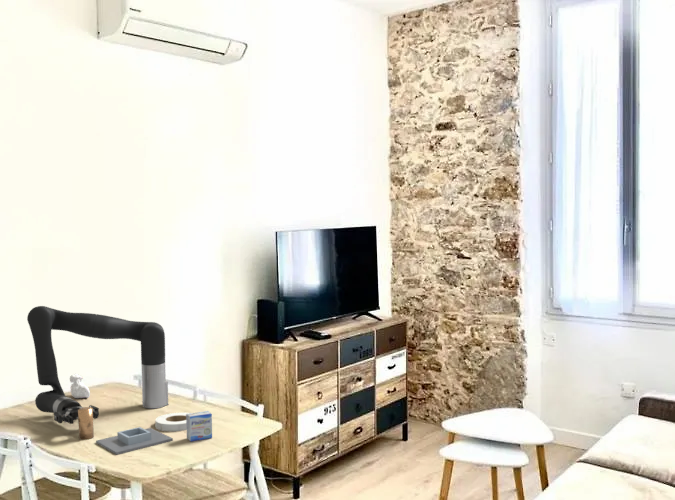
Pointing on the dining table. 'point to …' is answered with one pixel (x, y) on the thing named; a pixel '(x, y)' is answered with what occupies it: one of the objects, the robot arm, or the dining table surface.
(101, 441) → the housing
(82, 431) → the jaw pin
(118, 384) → the dining table surface
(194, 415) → the medicine box
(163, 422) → the roll of tape
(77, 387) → the duck figurine
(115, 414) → the dining table surface
